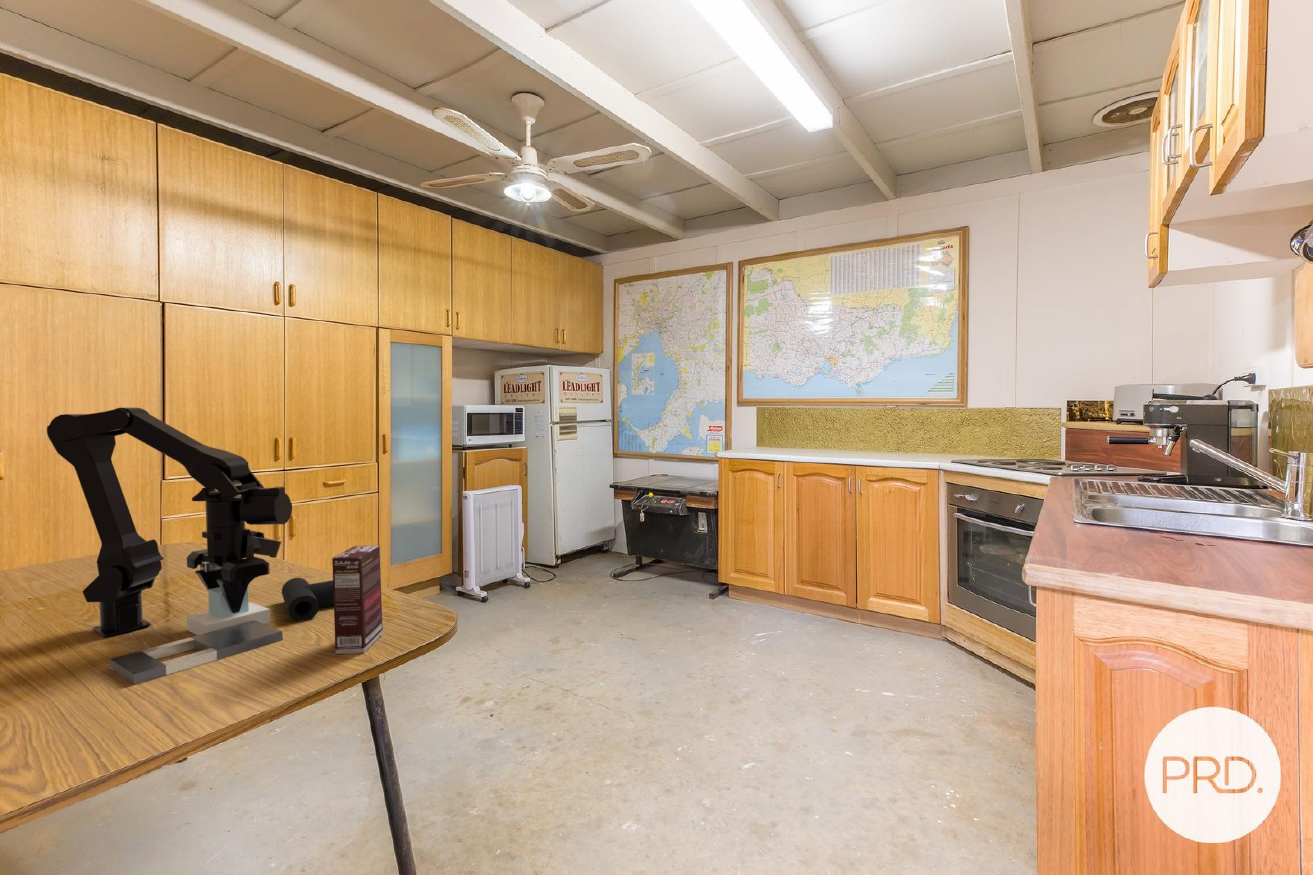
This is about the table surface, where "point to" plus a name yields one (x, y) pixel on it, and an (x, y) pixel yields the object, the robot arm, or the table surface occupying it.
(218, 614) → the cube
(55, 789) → the table surface
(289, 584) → the pipe connector
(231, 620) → the stand
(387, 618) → the table surface
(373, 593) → the supplement box
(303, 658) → the table surface
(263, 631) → the plate
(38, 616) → the table surface
